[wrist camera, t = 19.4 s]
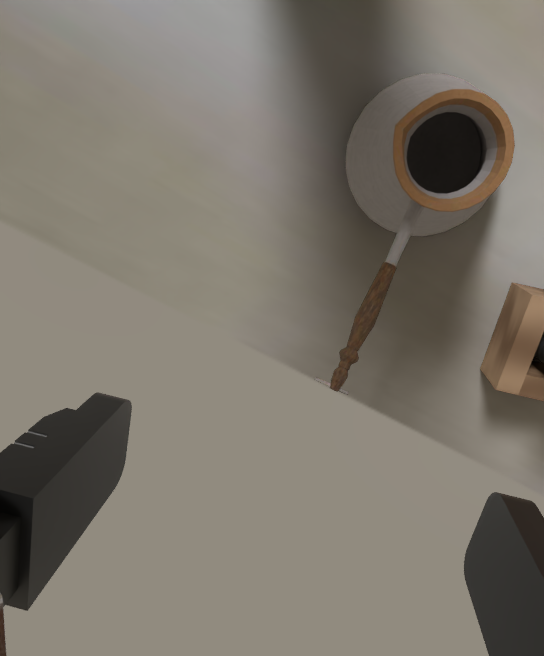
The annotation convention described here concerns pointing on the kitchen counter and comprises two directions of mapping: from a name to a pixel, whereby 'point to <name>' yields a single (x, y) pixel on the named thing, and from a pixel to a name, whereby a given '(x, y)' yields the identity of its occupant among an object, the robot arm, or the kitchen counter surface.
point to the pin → (540, 350)
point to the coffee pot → (421, 172)
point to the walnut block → (517, 344)
